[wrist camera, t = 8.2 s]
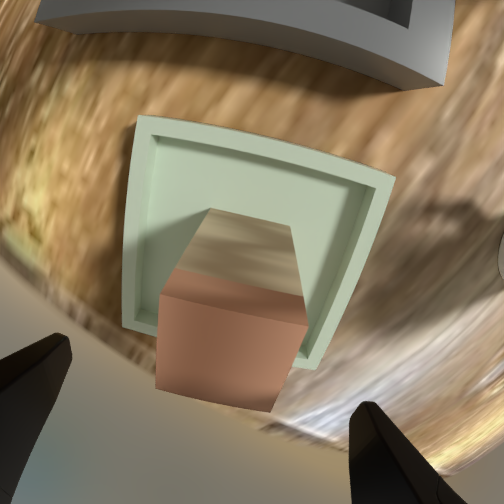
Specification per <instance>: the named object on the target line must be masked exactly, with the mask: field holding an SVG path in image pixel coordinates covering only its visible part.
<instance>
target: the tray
mask: <svg viewBox="0 0 504 504" xmlns="http://www.w3.org/2000/svg"><path fill="white" fill-rule="evenodd" d="M395 179H396V177H394V176H392V175H390V174H388V173H386V172H384V171H382V170H379V169H377V168H374V167H371V166H368V165H365V164H362V163H359V162H356V161H353V160H350V159H347V158H344V157H340V156H337V155H334V154H331V153H327V152H324V151H320V150H317V149H314V148H310V147H306V146H303V145H299V144H295V143H292V142H288V141H284V140H280V139H276V138H272V137H268V136H264V135H259V134H255V133H251V132H246V131H241V130H237V129H232V128H227V127H222V126H217V125H212V124H206V123H201V122H195V121H189V120H183V119H176V118H170V117H163V116H155V115H138V119H137V124H136V130H135V136H134V143H133V149H132V156H131V164H130V171H129V180H128V189H127V198H126V209H125V222H124V237H123V258H122V327H124V328H127V329H131V330H134V331H137V332H141V333H144V334H148V335H151V336H155V337H157V328H158V311H159V297H160V293H161V291H162V289H163V287H164V286H165V284H166V282H167V280H168V279H169V277H170V275H171V273H172V272H173V270H174V268H175V266H176V265H177V263H178V261H179V260H180V258H181V256H182V255H183V253H184V251H185V250H186V248H187V246H188V244H189V243H190V241H191V239H192V238H193V236H194V235H195V233H196V231H197V230H198V228H199V226H200V225H201V223H202V221H203V220H204V218H205V217H206V215H207V213H208V212H209V210H210V209H211V208H214V209H218V210H223V211H228V212H232V213H236V214H241V215H245V216H250V217H254V218H258V219H263V220H267V221H271V222H276V223H280V224H284V225H288V226H290V228H291V233H292V238H293V243H294V248H295V253H296V259H297V264H298V269H299V274H300V280H301V285H302V291H303V296H304V302H305V308H306V313H307V319H308V325H309V327H308V330H307V332H306V334H305V337H304V339H303V341H302V344H301V346H300V348H299V351H298V353H297V355H296V358H295V360H294V362H293V364H292V367H298V368H304V369H311V370H316V368H317V366H318V364H319V363H320V361H321V359H322V357H323V355H324V353H325V351H326V349H327V347H328V345H329V343H330V341H331V339H332V336H333V334H334V332H335V330H336V328H337V326H338V324H339V322H340V320H341V317H342V315H343V313H344V311H345V309H346V307H347V304H348V302H349V300H350V298H351V295H352V293H353V291H354V288H355V286H356V284H357V281H358V279H359V277H360V274H361V272H362V269H363V267H364V265H365V262H366V260H367V257H368V255H369V252H370V249H371V247H372V244H373V242H374V239H375V236H376V234H377V231H378V228H379V226H380V223H381V220H382V217H383V215H384V212H385V209H386V206H387V203H388V200H389V197H390V194H391V191H392V188H393V185H394V182H395Z"/></svg>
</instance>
